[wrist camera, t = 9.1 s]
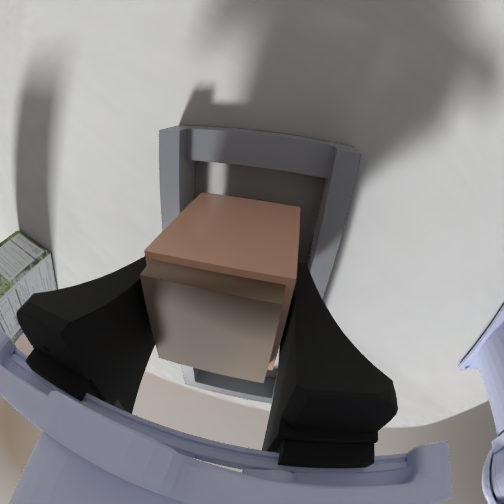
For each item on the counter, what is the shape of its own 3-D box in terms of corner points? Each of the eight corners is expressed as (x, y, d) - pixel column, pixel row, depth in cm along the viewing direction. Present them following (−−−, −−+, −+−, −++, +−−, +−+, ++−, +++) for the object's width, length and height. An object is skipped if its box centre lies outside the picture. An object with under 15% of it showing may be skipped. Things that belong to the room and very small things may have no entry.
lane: (352, 146, 11) (360, 154, 10) (284, 386, 22) (281, 405, 20) (178, 125, 12) (159, 130, 10) (192, 366, 23) (185, 384, 21)
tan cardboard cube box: (300, 207, 12) (294, 298, 7) (284, 287, 14) (269, 387, 9) (201, 192, 12) (131, 265, 7) (201, 271, 14) (154, 359, 9)
